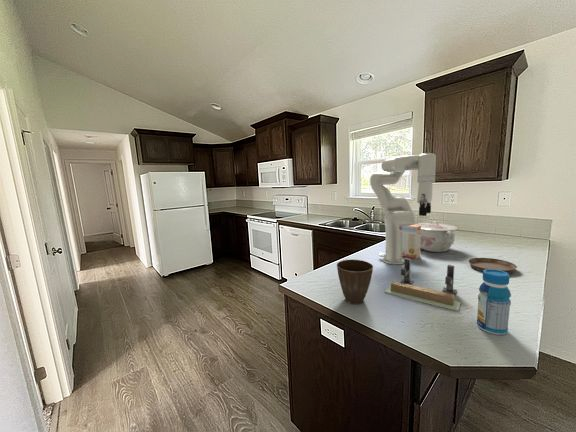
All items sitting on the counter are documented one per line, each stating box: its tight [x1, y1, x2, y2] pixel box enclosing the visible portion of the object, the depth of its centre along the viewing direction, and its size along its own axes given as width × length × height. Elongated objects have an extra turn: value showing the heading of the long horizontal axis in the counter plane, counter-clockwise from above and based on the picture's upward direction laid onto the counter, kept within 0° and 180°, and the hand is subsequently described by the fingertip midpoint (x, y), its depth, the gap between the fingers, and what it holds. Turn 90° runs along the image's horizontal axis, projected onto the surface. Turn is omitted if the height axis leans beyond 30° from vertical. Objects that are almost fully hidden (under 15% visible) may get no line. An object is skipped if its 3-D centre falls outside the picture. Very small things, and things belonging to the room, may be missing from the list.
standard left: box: [400, 257, 414, 285], centre depth 121 cm, size 5×9×12 cm, turn 140°
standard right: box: [441, 264, 458, 295], centre depth 109 cm, size 5×9×12 cm, turn 140°
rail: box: [390, 280, 455, 306], centre depth 107 cm, size 24×4×4 cm, turn 50°
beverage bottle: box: [476, 269, 512, 336], centre depth 83 cm, size 8×8×20 cm
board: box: [384, 285, 461, 312], centre depth 107 cm, size 28×7×1 cm, turn 50°
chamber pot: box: [413, 220, 459, 253], centre depth 173 cm, size 28×28×21 cm
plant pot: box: [336, 259, 374, 305], centre depth 106 cm, size 15×15×16 cm
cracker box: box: [399, 224, 421, 259], centre depth 162 cm, size 14×6×21 cm, turn 39°
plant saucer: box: [468, 257, 518, 274], centre depth 136 cm, size 21×21×3 cm
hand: (424, 214), depth 123 cm, fingers open, 9 cm apart
